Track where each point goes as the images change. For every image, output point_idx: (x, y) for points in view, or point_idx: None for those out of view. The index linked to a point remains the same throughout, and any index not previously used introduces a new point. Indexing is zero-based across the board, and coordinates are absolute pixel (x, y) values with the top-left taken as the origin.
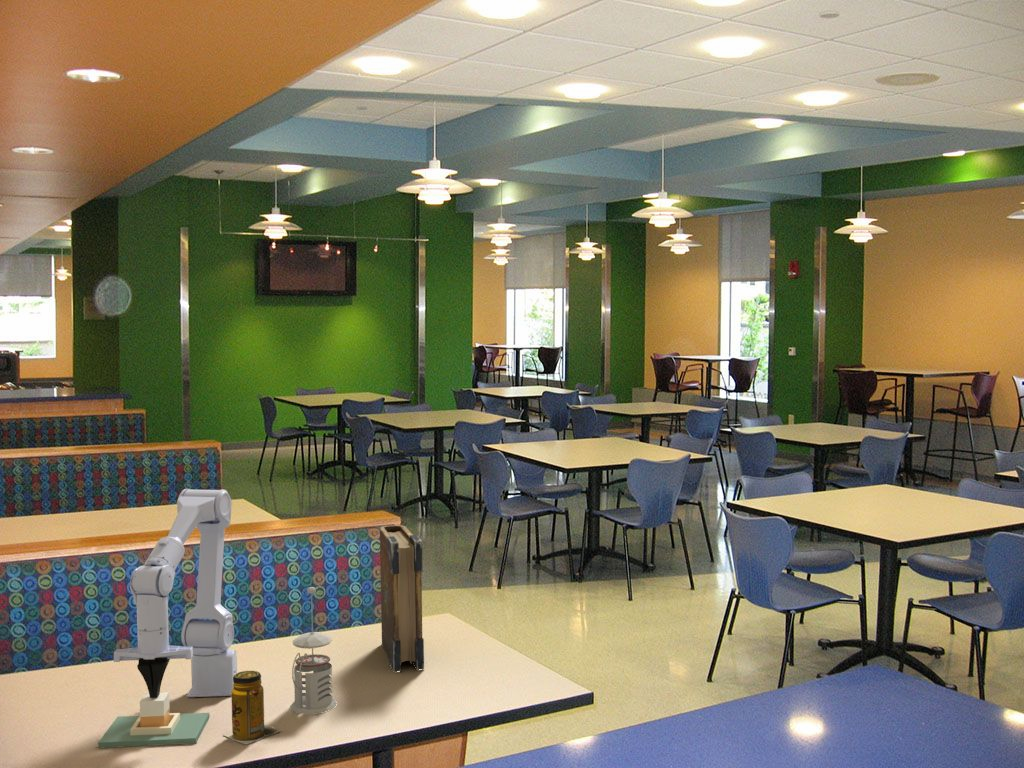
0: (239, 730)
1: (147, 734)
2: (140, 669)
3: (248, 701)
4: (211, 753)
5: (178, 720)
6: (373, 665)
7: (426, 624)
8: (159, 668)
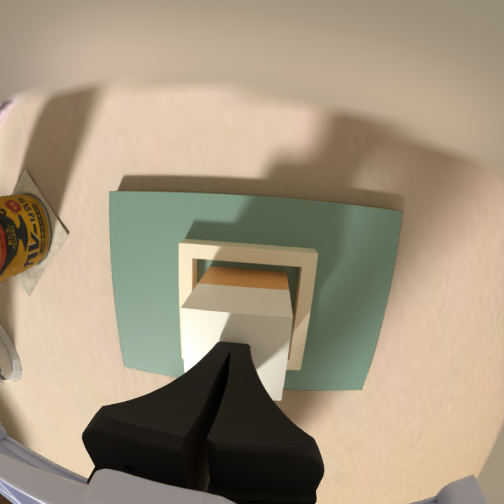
0: (20, 198)
1: (259, 243)
2: (293, 436)
3: None
4: (78, 122)
5: None
6: None
7: None
8: (128, 413)
